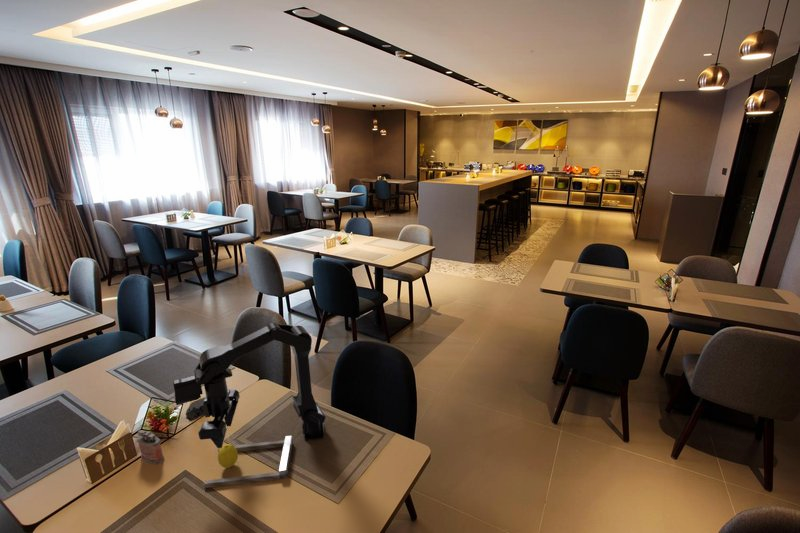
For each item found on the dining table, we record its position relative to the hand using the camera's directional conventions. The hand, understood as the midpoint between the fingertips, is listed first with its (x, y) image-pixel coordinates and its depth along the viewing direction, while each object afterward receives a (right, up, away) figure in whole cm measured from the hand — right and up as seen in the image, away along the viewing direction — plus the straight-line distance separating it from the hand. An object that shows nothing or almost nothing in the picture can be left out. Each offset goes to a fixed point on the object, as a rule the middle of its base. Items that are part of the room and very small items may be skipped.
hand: (224, 436), depth 117 cm
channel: (+7, -10, +4) cm, 13 cm away
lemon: (0, -11, +3) cm, 11 cm away
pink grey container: (-26, -10, +6) cm, 28 cm away
